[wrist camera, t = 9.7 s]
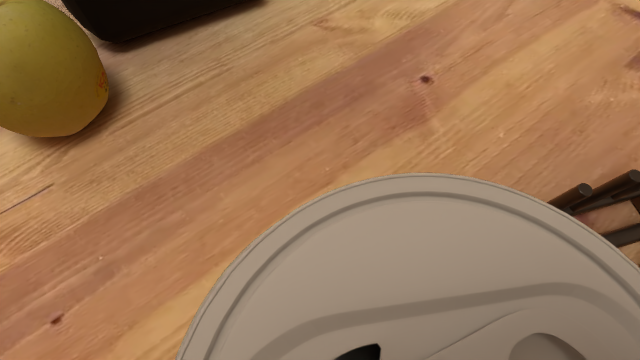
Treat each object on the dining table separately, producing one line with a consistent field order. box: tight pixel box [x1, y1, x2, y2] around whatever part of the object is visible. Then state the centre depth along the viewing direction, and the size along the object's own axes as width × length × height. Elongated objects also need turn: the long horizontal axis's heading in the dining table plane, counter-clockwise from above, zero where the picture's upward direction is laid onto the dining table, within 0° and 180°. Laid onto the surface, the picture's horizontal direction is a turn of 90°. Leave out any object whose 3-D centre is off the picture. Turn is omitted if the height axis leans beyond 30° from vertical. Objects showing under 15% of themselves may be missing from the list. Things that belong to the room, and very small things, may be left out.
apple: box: [0, 0, 109, 137], centre depth 22 cm, size 8×8×10 cm
